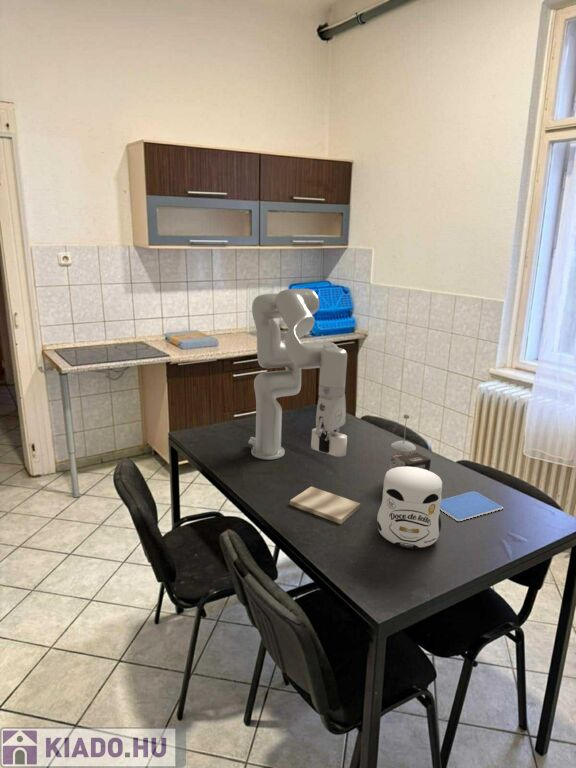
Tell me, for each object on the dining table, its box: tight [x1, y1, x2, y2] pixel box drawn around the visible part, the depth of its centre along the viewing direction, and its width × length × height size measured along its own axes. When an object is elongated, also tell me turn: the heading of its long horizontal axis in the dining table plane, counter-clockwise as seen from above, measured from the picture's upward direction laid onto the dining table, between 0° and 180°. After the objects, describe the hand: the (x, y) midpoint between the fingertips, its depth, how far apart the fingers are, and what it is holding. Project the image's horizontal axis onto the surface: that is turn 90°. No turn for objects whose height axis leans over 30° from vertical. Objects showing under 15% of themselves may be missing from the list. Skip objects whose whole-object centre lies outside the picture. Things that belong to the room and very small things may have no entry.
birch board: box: [289, 486, 361, 525], centre depth 165 cm, size 18×12×2 cm, turn 55°
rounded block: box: [310, 427, 348, 458], centre depth 159 cm, size 11×4×6 cm, turn 55°
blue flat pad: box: [440, 490, 504, 522], centre depth 168 cm, size 19×13×1 cm, turn 118°
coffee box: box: [394, 452, 432, 471], centre depth 166 cm, size 9×6×16 cm
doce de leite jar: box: [376, 466, 443, 550], centre depth 148 cm, size 17×17×18 cm
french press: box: [388, 413, 417, 471], centre depth 179 cm, size 10×12×25 cm
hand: (328, 448), depth 160 cm, fingers closed on rounded block, 4 cm apart
